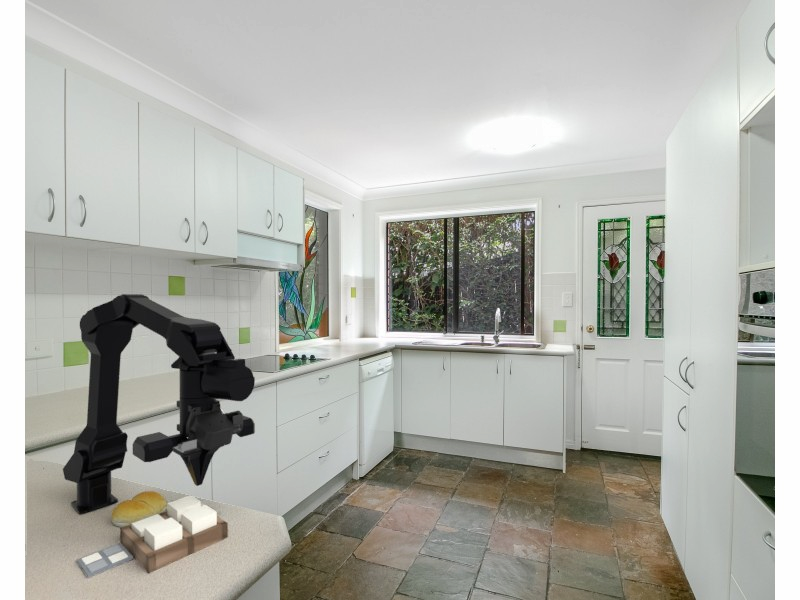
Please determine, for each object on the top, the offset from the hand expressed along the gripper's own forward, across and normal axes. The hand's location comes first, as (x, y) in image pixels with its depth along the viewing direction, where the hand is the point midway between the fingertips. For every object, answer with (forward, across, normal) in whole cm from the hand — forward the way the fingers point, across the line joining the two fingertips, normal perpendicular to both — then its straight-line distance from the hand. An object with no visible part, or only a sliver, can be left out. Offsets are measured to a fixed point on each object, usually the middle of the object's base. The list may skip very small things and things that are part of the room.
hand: (198, 484), depth 74 cm
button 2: (+8, -6, 0) cm, 10 cm away
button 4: (+8, 0, 0) cm, 8 cm away
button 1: (+9, -6, +6) cm, 12 cm away
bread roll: (+10, -4, +17) cm, 20 cm away
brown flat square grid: (+9, -3, +3) cm, 10 cm away
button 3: (+8, 0, +6) cm, 10 cm away
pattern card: (+9, -12, +5) cm, 16 cm away
